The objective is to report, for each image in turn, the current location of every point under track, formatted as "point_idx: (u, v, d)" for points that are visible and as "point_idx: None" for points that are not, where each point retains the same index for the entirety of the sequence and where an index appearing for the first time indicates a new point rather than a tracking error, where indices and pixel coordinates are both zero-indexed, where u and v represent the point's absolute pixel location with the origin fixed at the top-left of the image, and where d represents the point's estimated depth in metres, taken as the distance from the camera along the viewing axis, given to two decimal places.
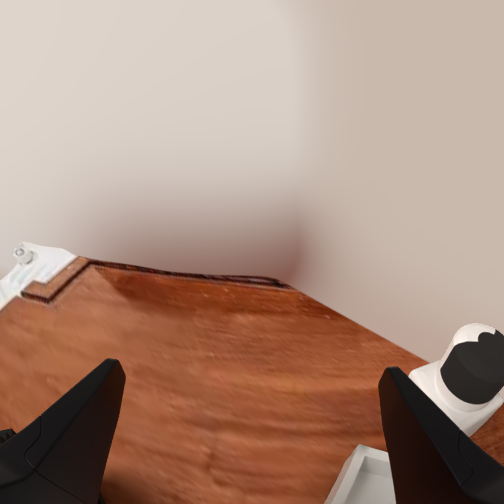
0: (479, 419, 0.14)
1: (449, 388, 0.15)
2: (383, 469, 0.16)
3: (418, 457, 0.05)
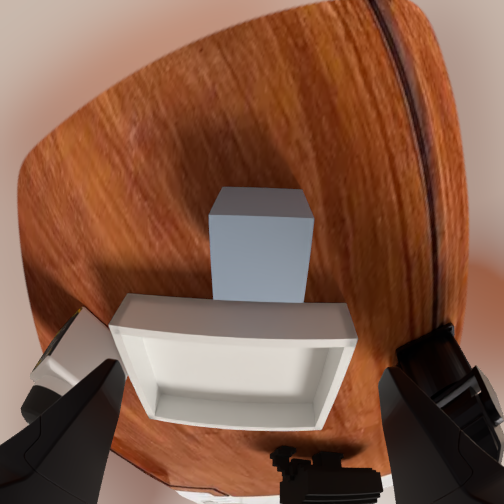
0: None
1: None
2: (153, 393, 0.25)
3: (418, 457, 0.05)
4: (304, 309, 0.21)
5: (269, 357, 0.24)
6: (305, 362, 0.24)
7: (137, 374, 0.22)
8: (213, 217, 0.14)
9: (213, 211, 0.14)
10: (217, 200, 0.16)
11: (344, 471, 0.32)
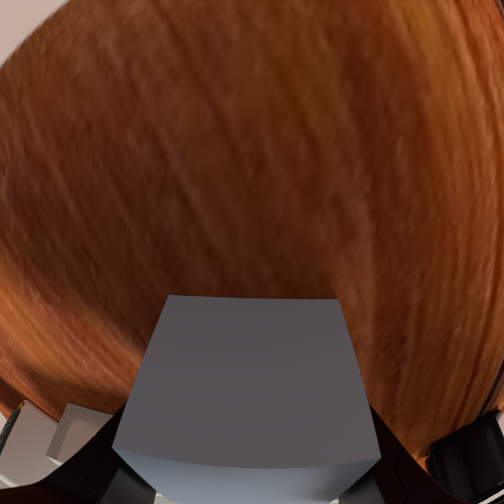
0: None
1: None
2: None
3: None
4: None
5: None
6: None
7: None
8: (125, 449, 0.04)
9: (125, 431, 0.04)
10: (143, 367, 0.06)
11: None
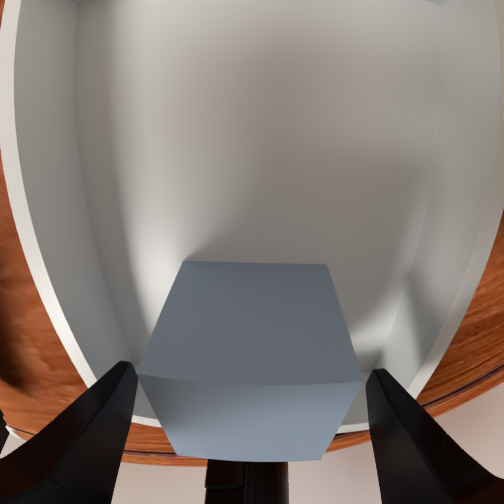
0: None
1: None
2: None
3: (403, 461, 0.05)
4: None
5: None
6: None
7: None
8: (147, 376, 0.06)
9: (148, 360, 0.06)
10: (164, 313, 0.08)
11: None
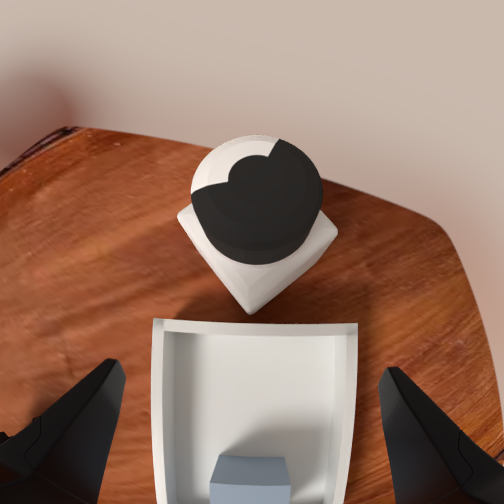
0: (293, 269, 0.16)
1: (214, 247, 0.15)
2: None
3: (418, 457, 0.05)
4: None
5: None
6: None
7: (269, 336, 0.18)
8: (213, 484, 0.14)
9: (213, 479, 0.14)
10: (215, 469, 0.16)
11: None
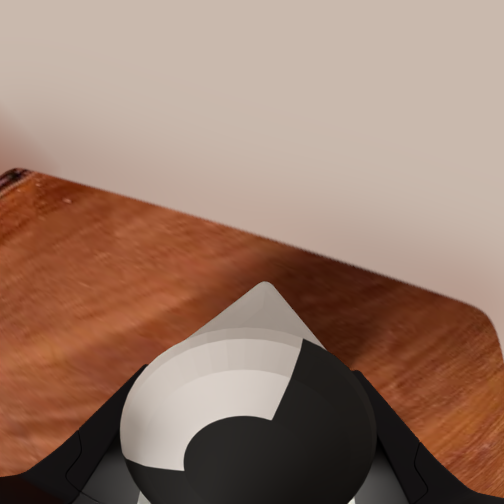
0: None
1: None
2: None
3: (373, 468, 0.05)
4: None
5: None
6: None
7: None
8: None
9: None
10: None
11: None
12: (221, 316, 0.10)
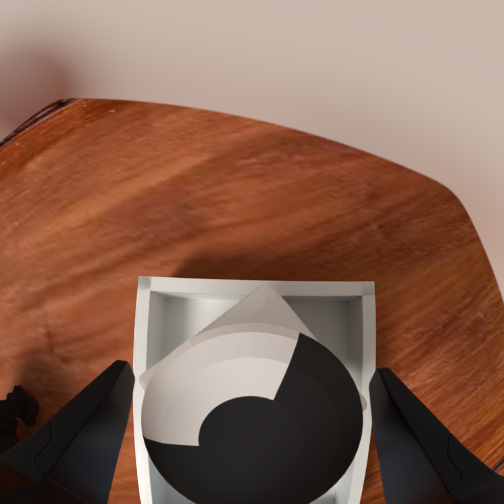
0: None
1: None
2: (192, 296, 0.17)
3: (407, 460, 0.05)
4: None
5: None
6: None
7: None
8: None
9: None
10: None
11: None
12: (227, 314, 0.12)
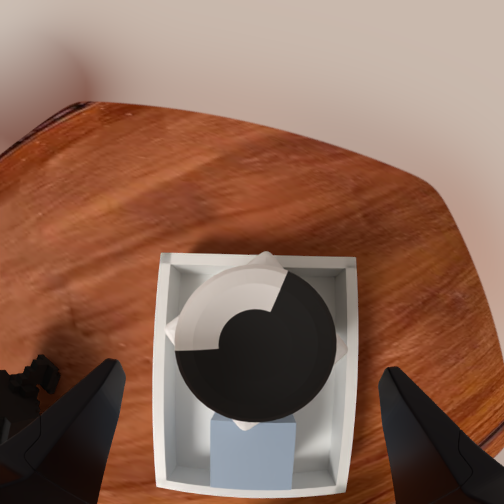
0: None
1: None
2: (205, 270, 0.21)
3: (418, 457, 0.05)
4: None
5: None
6: None
7: None
8: (214, 422, 0.15)
9: (214, 418, 0.15)
10: None
11: None
12: None
